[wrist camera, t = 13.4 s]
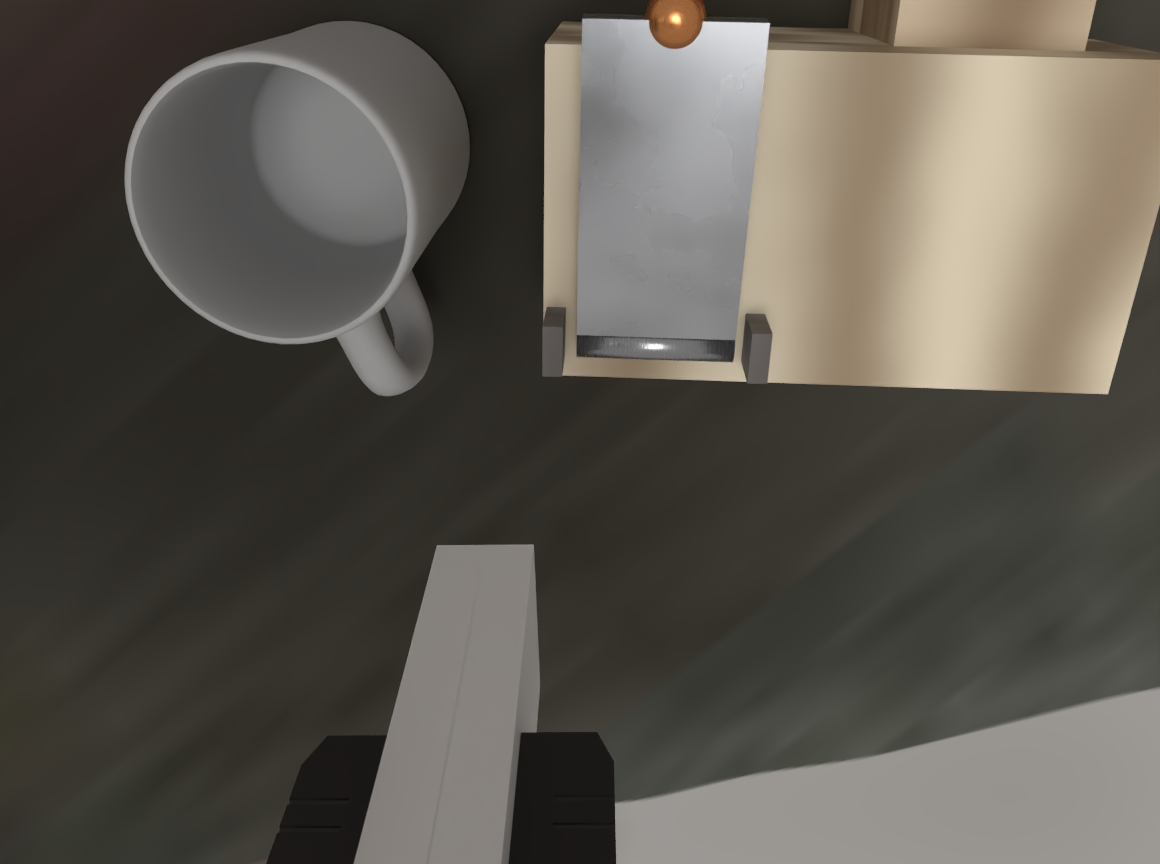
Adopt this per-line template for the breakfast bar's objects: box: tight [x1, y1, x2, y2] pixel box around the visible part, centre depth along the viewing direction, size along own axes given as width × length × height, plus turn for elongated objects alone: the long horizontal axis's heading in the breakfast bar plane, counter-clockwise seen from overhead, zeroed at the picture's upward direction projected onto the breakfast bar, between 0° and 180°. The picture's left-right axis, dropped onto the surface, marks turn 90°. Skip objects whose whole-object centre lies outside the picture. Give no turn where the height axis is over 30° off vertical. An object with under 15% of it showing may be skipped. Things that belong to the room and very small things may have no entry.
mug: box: [124, 21, 470, 396], centre depth 34 cm, size 12×8×11 cm
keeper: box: [576, 0, 770, 363], centre depth 29 cm, size 5×11×2 cm, turn 179°
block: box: [542, 0, 1160, 394], centre depth 33 cm, size 18×14×11 cm
